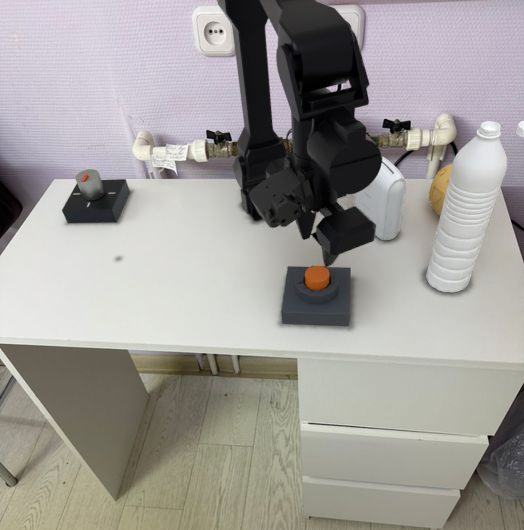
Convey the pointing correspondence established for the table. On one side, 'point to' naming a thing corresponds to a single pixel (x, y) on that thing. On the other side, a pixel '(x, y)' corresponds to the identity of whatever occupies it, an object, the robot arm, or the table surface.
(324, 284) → the button
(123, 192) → the panel
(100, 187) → the dial
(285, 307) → the box
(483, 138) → the water bottle
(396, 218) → the photo printer
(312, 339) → the table surface
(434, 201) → the stress ball
